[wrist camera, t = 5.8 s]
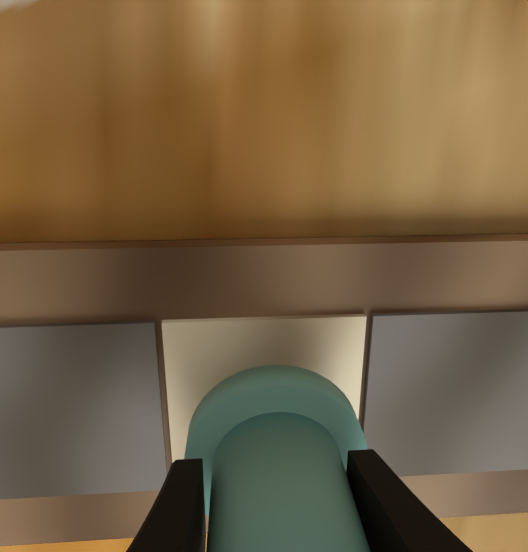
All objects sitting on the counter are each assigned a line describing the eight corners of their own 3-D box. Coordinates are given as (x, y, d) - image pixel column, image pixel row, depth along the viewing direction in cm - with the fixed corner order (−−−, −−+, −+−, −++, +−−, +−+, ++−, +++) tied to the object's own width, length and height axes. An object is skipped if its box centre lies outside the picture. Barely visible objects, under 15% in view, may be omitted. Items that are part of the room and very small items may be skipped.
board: (743, 229, 14) (779, 237, 14) (655, 486, 18) (679, 507, 17) (-66, 244, 13) (-89, 254, 12) (1, 526, 16) (-13, 552, 15)
